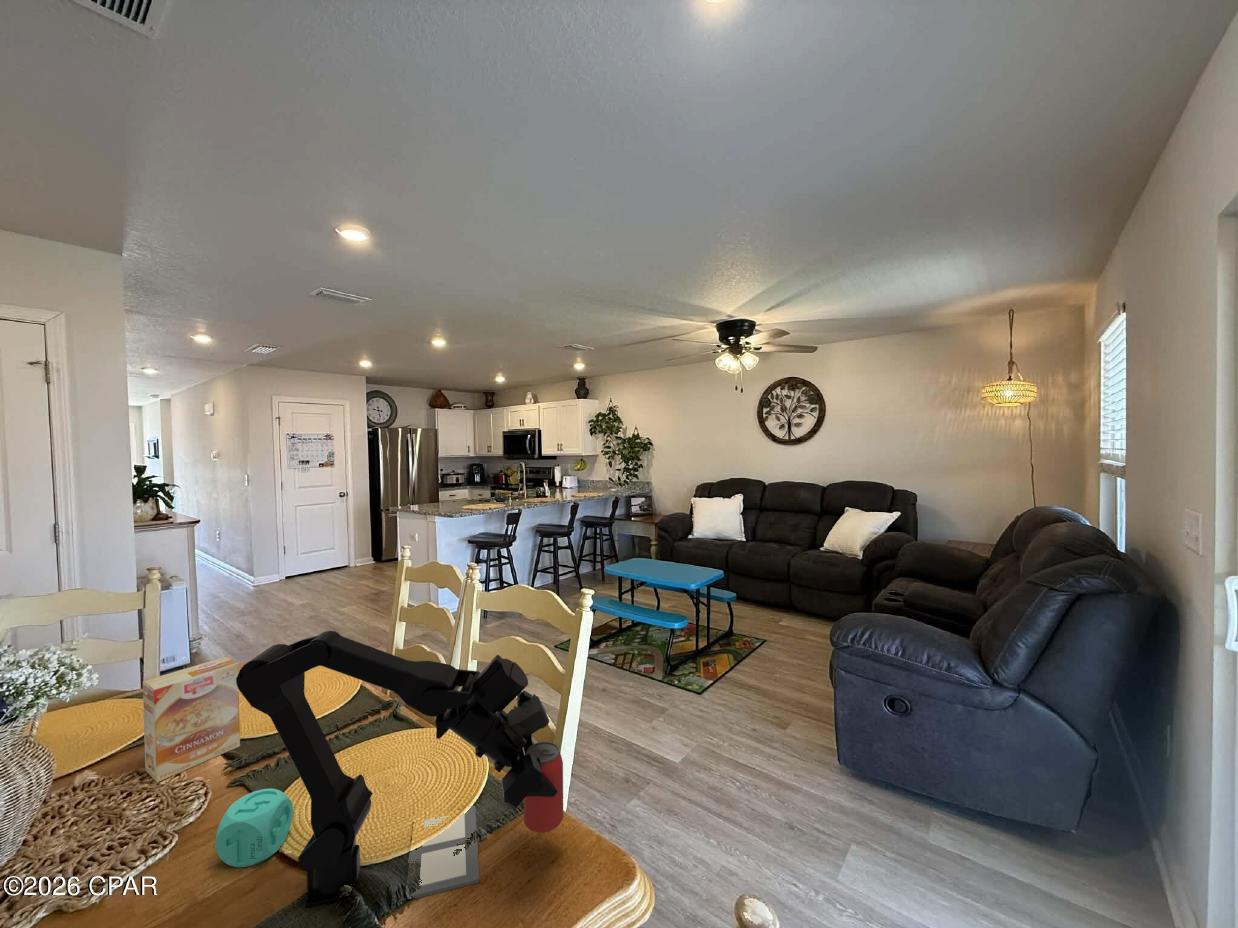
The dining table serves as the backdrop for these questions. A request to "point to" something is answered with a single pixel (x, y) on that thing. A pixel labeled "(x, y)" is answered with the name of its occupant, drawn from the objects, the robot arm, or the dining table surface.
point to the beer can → (546, 810)
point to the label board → (448, 857)
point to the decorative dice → (254, 827)
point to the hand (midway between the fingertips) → (551, 780)
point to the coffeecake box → (190, 717)
